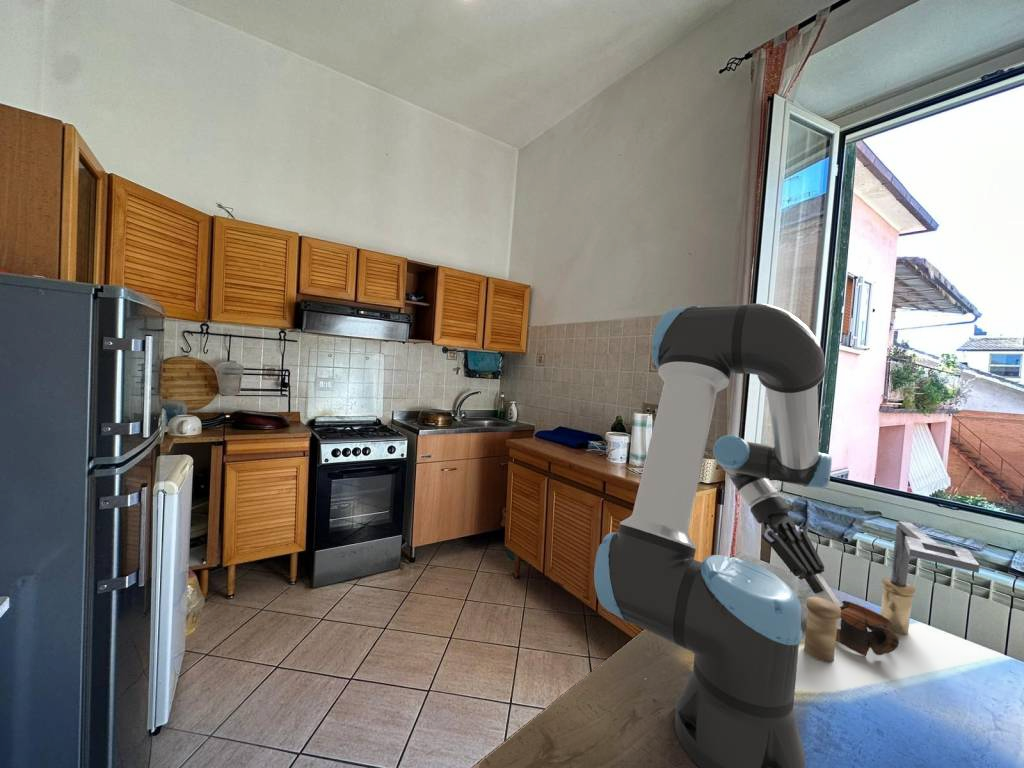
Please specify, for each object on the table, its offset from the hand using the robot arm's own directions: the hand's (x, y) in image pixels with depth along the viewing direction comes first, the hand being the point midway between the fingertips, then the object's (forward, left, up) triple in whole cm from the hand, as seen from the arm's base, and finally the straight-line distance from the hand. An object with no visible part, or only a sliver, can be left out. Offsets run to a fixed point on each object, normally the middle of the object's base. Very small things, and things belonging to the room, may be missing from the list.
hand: (834, 608), depth 86 cm
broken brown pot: (+5, -4, -4) cm, 8 cm away
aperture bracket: (+12, 0, -3) cm, 13 cm away
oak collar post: (-2, -14, -3) cm, 14 cm away
